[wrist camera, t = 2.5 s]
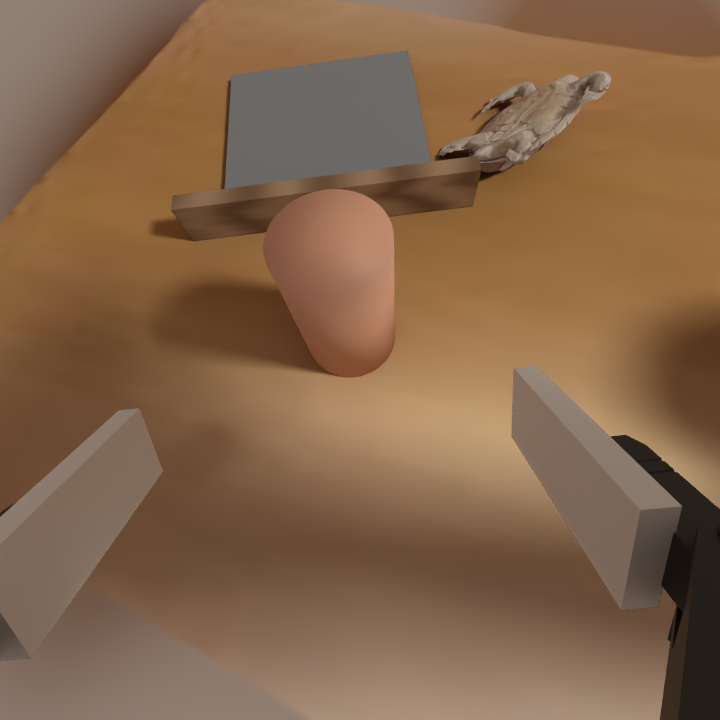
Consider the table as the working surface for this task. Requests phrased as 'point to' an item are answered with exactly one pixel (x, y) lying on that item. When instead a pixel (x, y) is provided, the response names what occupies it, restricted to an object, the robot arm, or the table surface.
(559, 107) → the turtle
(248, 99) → the mat
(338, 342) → the pink rounded cylinder
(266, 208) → the wooden plank
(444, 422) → the table surface
